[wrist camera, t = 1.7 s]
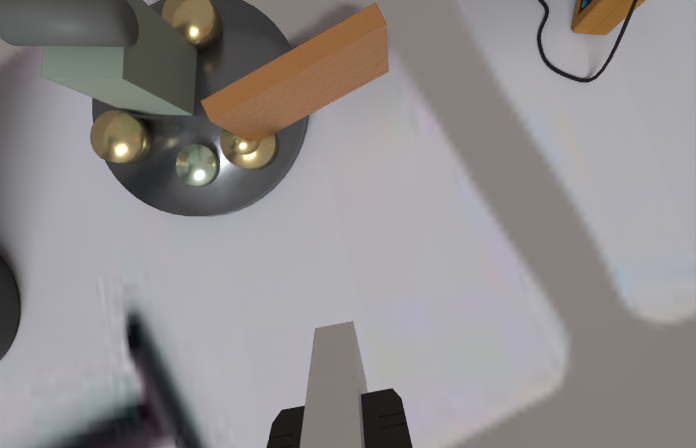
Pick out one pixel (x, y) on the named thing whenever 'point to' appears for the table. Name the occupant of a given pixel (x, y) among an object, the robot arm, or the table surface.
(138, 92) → the wedge with rod handle
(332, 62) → the lever
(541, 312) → the table surface
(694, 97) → the table surface
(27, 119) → the table surface
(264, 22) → the tribrach plate
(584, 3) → the multimeter
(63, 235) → the table surface
